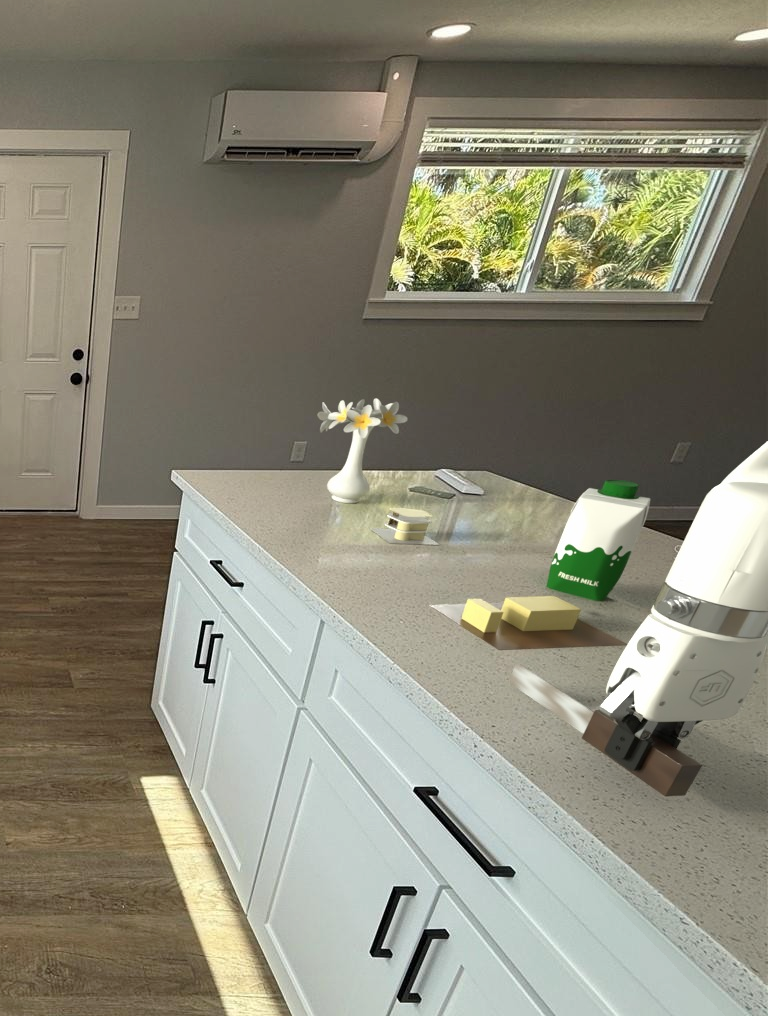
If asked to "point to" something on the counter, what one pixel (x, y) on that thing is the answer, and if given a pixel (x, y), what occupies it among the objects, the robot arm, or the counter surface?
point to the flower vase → (357, 443)
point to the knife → (661, 763)
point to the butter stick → (539, 613)
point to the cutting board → (531, 633)
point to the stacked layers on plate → (406, 527)
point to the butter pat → (482, 615)
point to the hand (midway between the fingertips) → (633, 759)
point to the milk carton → (598, 540)
